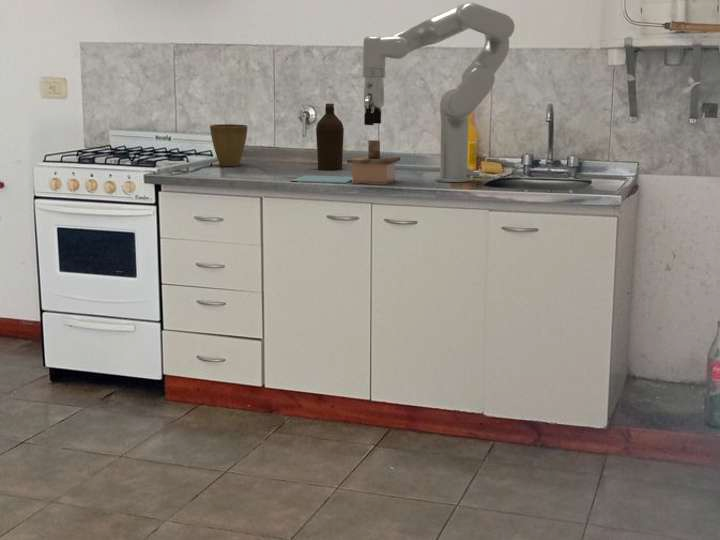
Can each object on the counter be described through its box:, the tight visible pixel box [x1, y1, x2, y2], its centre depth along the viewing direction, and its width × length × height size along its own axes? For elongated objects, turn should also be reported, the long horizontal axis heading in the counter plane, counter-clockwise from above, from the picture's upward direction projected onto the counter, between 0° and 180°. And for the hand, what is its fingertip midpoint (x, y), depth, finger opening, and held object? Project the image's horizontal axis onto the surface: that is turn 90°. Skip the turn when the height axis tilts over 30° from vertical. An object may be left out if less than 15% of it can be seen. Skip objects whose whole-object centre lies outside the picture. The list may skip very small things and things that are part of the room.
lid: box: [346, 139, 401, 164], centre depth 363 cm, size 15×15×7 cm
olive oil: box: [315, 103, 345, 171], centre depth 404 cm, size 11×11×25 cm
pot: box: [352, 162, 396, 185], centre depth 365 cm, size 12×12×7 cm
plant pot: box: [209, 123, 249, 167], centre depth 417 cm, size 15×15×16 cm
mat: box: [290, 175, 353, 184], centre depth 371 cm, size 20×16×1 cm
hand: (372, 124), depth 362 cm, fingers open, 9 cm apart
